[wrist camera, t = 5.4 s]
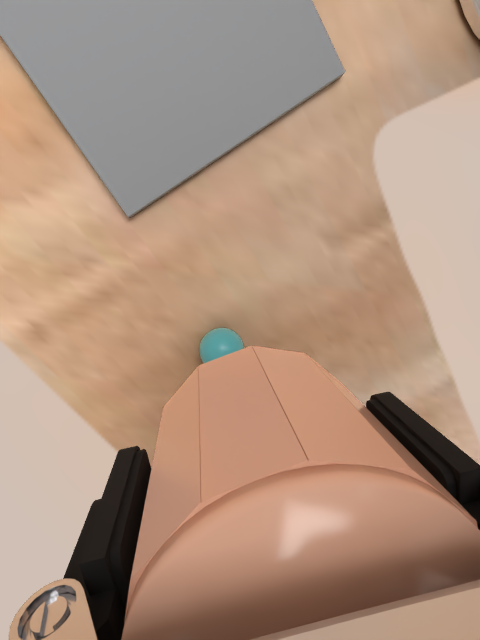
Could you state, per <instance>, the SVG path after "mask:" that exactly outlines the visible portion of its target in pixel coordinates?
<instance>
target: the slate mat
mask: <svg viewBox="0 0 480 640" xmlns="http://www.w3.org/2000/svg"><path fill="white" fill-rule="evenodd" d="M0 36H1V37H2V39H3V40H4V41H5V43H6V44H7V46H8V47H9V48H10V50H11V51H12V53H13V54H14V56H15V57H16V58H17V60H18V61H19V63H20V64H21V66H22V67H23V68H24V70H25V71H26V73H27V74H28V76H29V77H30V78H31V80H32V81H33V83H34V84H35V86H36V87H37V88H38V90H39V91H40V93H41V94H42V96H43V97H44V98H45V100H46V101H47V103H48V104H49V105H50V107H51V108H52V110H53V111H54V113H55V114H56V115H57V117H58V118H59V120H60V121H61V123H62V124H63V125H64V127H65V128H66V130H67V131H68V133H69V134H70V135H71V137H72V138H73V140H74V141H75V143H76V144H77V145H78V147H79V148H80V150H81V151H82V153H83V154H84V155H85V157H86V158H87V160H88V161H89V162H90V164H91V165H92V167H93V168H94V170H95V171H96V172H97V174H98V175H99V177H100V178H101V180H102V181H103V182H104V184H105V185H106V187H107V188H108V190H109V191H110V192H111V194H112V195H113V197H114V198H115V200H116V201H117V202H118V204H119V205H120V207H121V208H122V210H123V211H124V212H125V214H126V215H127V217H129V218H131V217H132V216H134V215H135V214H137V213H138V212H140V211H141V210H143V209H144V208H146V207H147V206H149V205H150V204H152V203H153V202H155V201H156V200H158V199H159V198H161V197H162V196H164V195H165V194H167V193H168V192H170V191H171V190H173V189H174V188H176V187H177V186H179V185H180V184H182V183H183V182H185V181H186V180H188V179H189V178H191V177H192V176H194V175H195V174H197V173H198V172H199V171H201V170H202V169H204V168H205V167H207V166H208V165H210V164H211V163H213V162H214V161H216V160H217V159H219V158H220V157H222V156H223V155H225V154H226V153H228V152H229V151H231V150H232V149H234V148H235V147H237V146H238V145H240V144H241V143H243V142H244V141H246V140H247V139H249V138H250V137H252V136H253V135H255V134H256V133H258V132H259V131H261V130H262V129H264V128H265V127H267V126H268V125H270V124H271V123H273V122H274V121H276V120H277V119H279V118H280V117H282V116H283V115H285V114H286V113H288V112H289V111H291V110H292V109H294V108H295V107H297V106H298V105H300V104H301V103H303V102H304V101H306V100H307V99H309V98H310V97H312V96H313V95H315V94H316V93H318V92H319V91H321V90H322V89H324V88H325V87H327V86H328V85H330V84H331V83H333V82H334V81H336V80H337V79H339V78H340V77H341V76H342V75H343V74H344V73H345V70H344V68H343V66H342V63H341V61H340V59H339V57H338V55H337V53H336V51H335V48H334V46H333V44H332V42H331V40H330V38H329V36H328V34H327V31H326V29H325V27H324V25H323V23H322V21H321V19H320V17H319V14H318V12H317V10H316V8H315V6H314V4H313V2H312V0H0Z"/></svg>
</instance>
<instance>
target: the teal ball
mask: <svg viewBox="0 0 480 640" xmlns="http://www.w3.org/2000/svg"><path fill="white" fill-rule="evenodd" d="M243 348H244V345H243V342H242V339H241V338H240V336H239V335H238V334H237V333H236V332H234V331H233V330H231V329H228V328H216V329H213V330H211V331H209V332H208V333H207V334H206V335H205V336H204V337H203V339H202V340H201V343H200V347H199V353H200V357H201V360H202V362H203V363H207V362H209V361H212V360H214V359H217V358H220V357H222V356H225V355H228V354H230V353H233V352H236V351H238V350H241V349H243Z"/></svg>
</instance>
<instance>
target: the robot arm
mask: <svg viewBox="0 0 480 640" xmlns="http://www.w3.org/2000/svg"><path fill="white" fill-rule="evenodd" d="M460 3H461V6H462V9H463V12H464V15H465V17H466V19H467V21H468V23H469V25H470V26H471V28H472V30H473V32H474V33H475V35H476V36H477V37H478V38H479V39H480V0H460ZM366 408H367V409H368V410H369V411H370V412H371V413H372V414H373V415H374V416H375V417H376V418H377V419H378V420H379V422H380V423H381V424H382V425H383V426H384V427H385V428H386V429H387V430H388V431H389V432H390V433H391V434H392V435H393V436H394V437H395V438H396V439H397V440H398V441H399V442H400V443H401V444H402V445H403V446H404V447H405V448H406V449H407V450H408V451H409V452H410V453H411V454H412V455H413V456H414V457H415V458H416V459H417V460H418V461H419V462H420V463H421V465H422V466H423V467H424V468H425V469H426V470H427V471H428V472H429V473H430V474H431V475H432V476H433V477H434V478H435V479H436V480H437V481H438V482H439V483H440V484H441V485H442V486H443V487H444V488H445V489H446V490H447V491H448V492H449V493H450V494H451V495H452V496H453V497H454V498H455V499H456V500H457V501H458V502H459V503H460V504H461V505H462V506H463V508H464V509H465V510H466V511H467V512H468V513H469V514H470V515H471V516H472V517H473V518H474V519H475V520H476V521H477V526H478V529H479V530H480V465H479V464H478V463H476V462H475V461H474V460H473V459H472V458H470V457H469V456H468V455H467V454H465V453H464V452H463V451H462V450H461V449H459V448H458V447H457V446H456V445H454V444H453V443H452V442H451V441H450V440H448V439H447V438H446V437H445V436H443V435H442V434H441V433H440V432H438V431H437V430H436V429H435V428H433V427H432V426H431V425H430V424H429V423H427V422H426V421H425V420H424V419H422V418H421V417H420V416H419V415H418V414H416V413H415V412H414V411H413V410H411V409H410V408H409V407H408V406H407V405H405V404H404V403H403V402H402V401H400V400H399V399H398V398H397V397H396V396H394V395H393V394H392V393H390V392H384V393H380V394H375V395H372V396H371V398H370V400H369V401H367V402H366ZM150 474H151V466H150V463H149V459H148V455H147V452H146V450H145V449H143V450H140V448H139V447H138V446H135V447H130V448H126V449H121V450H119V451H118V454H117V457H116V460H115V462H114V465H113V468H112V471H111V473H110V476H109V479H108V482H107V485H106V487H105V490H104V493H103V496H102V499H99V500H95V501H94V502H93V504H92V506H91V508H90V511H89V513H88V516H87V518H86V521H85V524H84V526H83V529H82V531H81V534H80V537H79V539H78V542H77V544H76V547H75V549H74V552H73V555H72V557H71V560H70V563H69V565H68V568H67V570H66V573H65V575H64V578H63V579H61V580H57V581H54V582H52V583H50V584H48V585H46V586H44V587H43V588H41V589H40V590H38V591H37V592H36V593H34V594H33V595H32V596H31V597H30V598H29V599H28V600H27V601H26V602H25V603H24V604H23V605H22V607H21V608H20V609H19V611H18V612H17V614H16V615H15V617H14V619H13V621H12V624H11V626H10V632H9V640H121V638H122V632H123V627H124V620H125V613H126V606H127V599H128V592H129V585H130V579H131V574H132V568H133V563H134V558H135V553H136V547H137V542H138V537H139V532H140V526H141V521H142V516H143V511H144V505H145V500H146V495H147V490H148V484H149V479H150ZM250 640H480V580H476V581H472V582H468V583H465V584H461V585H457V586H453V587H449V588H445V589H441V590H437V591H433V592H429V593H425V594H422V595H418V596H414V597H410V598H406V599H402V600H398V601H394V602H390V603H387V604H383V605H379V606H375V607H371V608H367V609H364V610H360V611H356V612H352V613H348V614H345V615H341V616H337V617H333V618H329V619H326V620H322V621H318V622H314V623H310V624H307V625H303V626H299V627H295V628H291V629H288V630H284V631H280V632H276V633H273V634H269V635H265V636H261V637H258V638H254V639H250Z"/></svg>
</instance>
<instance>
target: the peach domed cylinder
mask: <svg viewBox="0 0 480 640" xmlns="http://www.w3.org/2000/svg"><path fill="white" fill-rule="evenodd" d="M476 580H480V530H479V529H478V526H477V521H476V520H475V519H474V518H473V517H472V516H471V515H470V514H469V513H468V512H467V511H466V510H465V509H464V508H463V506H462V505H461V504H460V503H459V502H458V501H457V500H456V499H455V498H454V497H453V496H452V495H451V494H450V493H449V492H448V491H447V490H446V489H445V488H444V487H443V486H442V485H441V484H440V483H439V482H438V481H437V480H436V479H435V478H434V477H433V476H432V475H431V474H430V473H429V472H428V471H427V470H426V469H425V468H424V467H423V466H422V465H421V463H420V462H419V461H418V460H417V459H416V458H415V457H414V456H413V455H412V454H411V453H410V452H409V451H408V450H407V449H406V448H405V447H404V446H403V445H402V444H401V443H400V442H399V441H398V440H397V439H396V438H395V437H394V436H393V435H392V434H391V433H390V432H389V431H388V430H387V429H386V428H385V427H384V426H383V425H382V424H381V423H380V422H379V420H378V419H377V418H376V417H375V416H374V415H373V414H372V413H371V412H370V411H369V410H368V409H367V408H366V407H365V406H364V405H363V404H362V403H361V402H360V401H359V400H358V399H357V398H356V397H355V396H354V395H353V394H352V393H351V392H350V391H349V390H348V389H347V388H346V387H345V386H344V385H343V384H342V383H341V382H340V381H339V380H337V379H336V378H335V377H334V376H333V375H331V374H330V373H329V372H328V371H326V370H325V369H324V368H323V367H322V366H320V365H319V364H318V363H317V362H316V361H314V360H313V359H312V358H311V357H309V356H308V355H307V354H306V353H302V352H295V351H288V350H281V349H273V348H266V347H259V346H249V347H246V348H243V349H241V350H238V351H236V352H233V353H230V354H228V355H225V356H222V357H220V358H217V359H214V360H212V361H209V362H207V363H204V364H201V365H199V366H198V367H197V368H196V369H195V370H194V371H193V373H192V374H191V375H190V376H189V377H188V379H187V380H186V381H185V382H184V383H183V384H182V386H181V387H180V388H179V389H178V390H177V392H176V393H175V394H174V395H173V396H172V397H171V399H170V400H169V401H168V402H167V403H166V404H165V406H164V407H163V411H162V416H161V421H160V427H159V432H158V437H157V442H156V448H155V453H154V458H153V463H152V469H151V474H150V479H149V484H148V490H147V495H146V500H145V505H144V511H143V516H142V521H141V526H140V532H139V537H138V542H137V547H136V553H135V558H134V563H133V568H132V574H131V579H130V585H129V592H128V599H127V606H126V613H125V620H124V627H123V632H122V638H121V640H250V639H254V638H258V637H261V636H265V635H269V634H273V633H276V632H280V631H284V630H288V629H291V628H295V627H299V626H303V625H307V624H310V623H314V622H318V621H322V620H326V619H329V618H333V617H337V616H341V615H345V614H348V613H352V612H356V611H360V610H364V609H367V608H371V607H375V606H379V605H383V604H387V603H390V602H394V601H398V600H402V599H406V598H410V597H414V596H418V595H422V594H425V593H429V592H433V591H437V590H441V589H445V588H449V587H453V586H457V585H461V584H465V583H468V582H472V581H476Z"/></svg>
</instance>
